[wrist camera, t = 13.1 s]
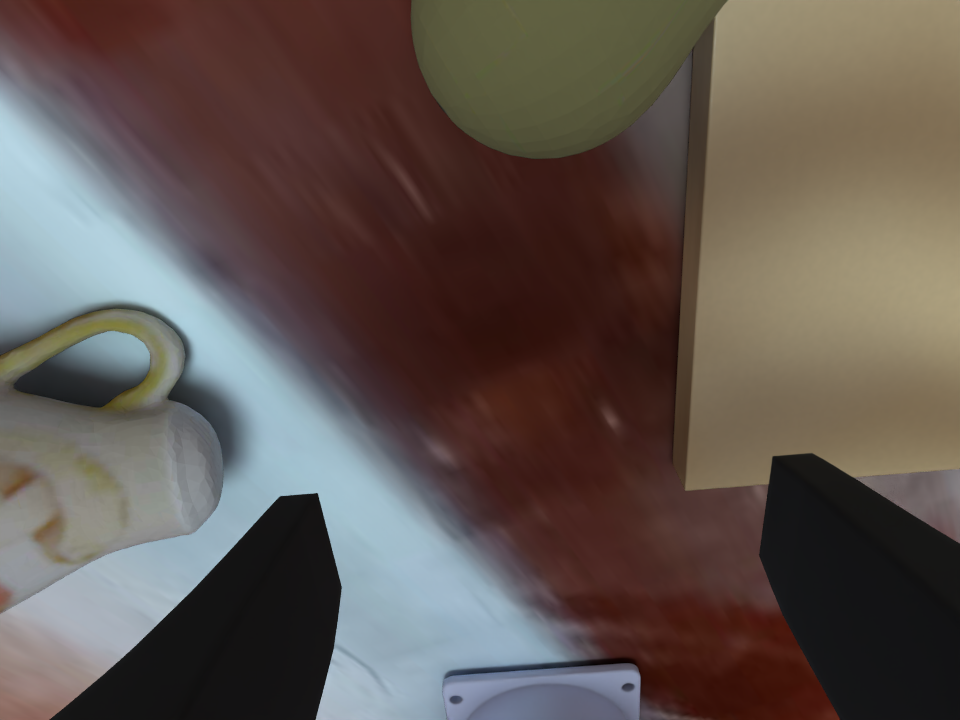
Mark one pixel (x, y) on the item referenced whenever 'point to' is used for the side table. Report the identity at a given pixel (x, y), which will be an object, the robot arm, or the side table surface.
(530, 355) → the side table surface
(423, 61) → the light bulb
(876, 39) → the maple board
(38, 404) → the mug
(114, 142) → the side table surface
